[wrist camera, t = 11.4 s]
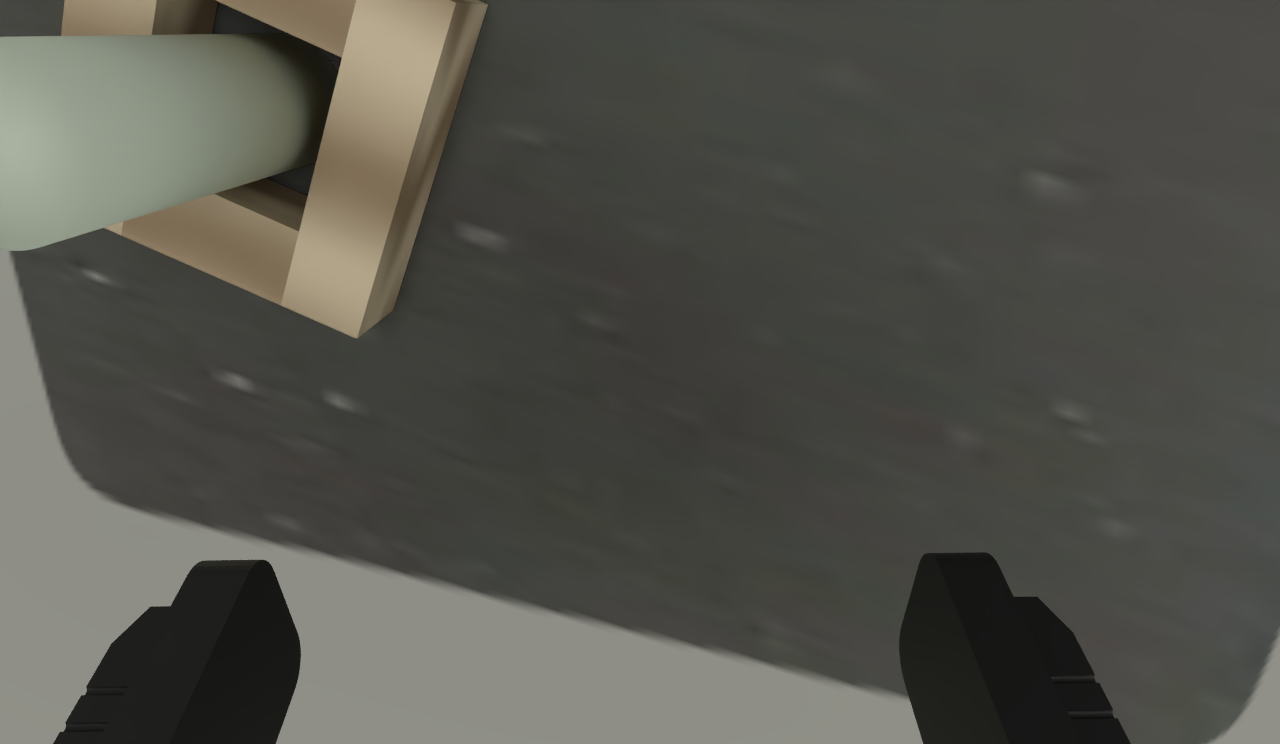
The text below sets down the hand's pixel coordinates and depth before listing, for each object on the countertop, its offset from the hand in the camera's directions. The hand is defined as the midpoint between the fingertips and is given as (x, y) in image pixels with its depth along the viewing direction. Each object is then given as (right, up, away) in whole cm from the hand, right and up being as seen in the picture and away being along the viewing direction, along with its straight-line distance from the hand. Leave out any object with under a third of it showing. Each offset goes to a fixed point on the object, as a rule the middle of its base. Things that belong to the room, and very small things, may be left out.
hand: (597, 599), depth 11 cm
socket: (-11, +12, +17) cm, 24 cm away
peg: (-11, +12, +17) cm, 24 cm away
